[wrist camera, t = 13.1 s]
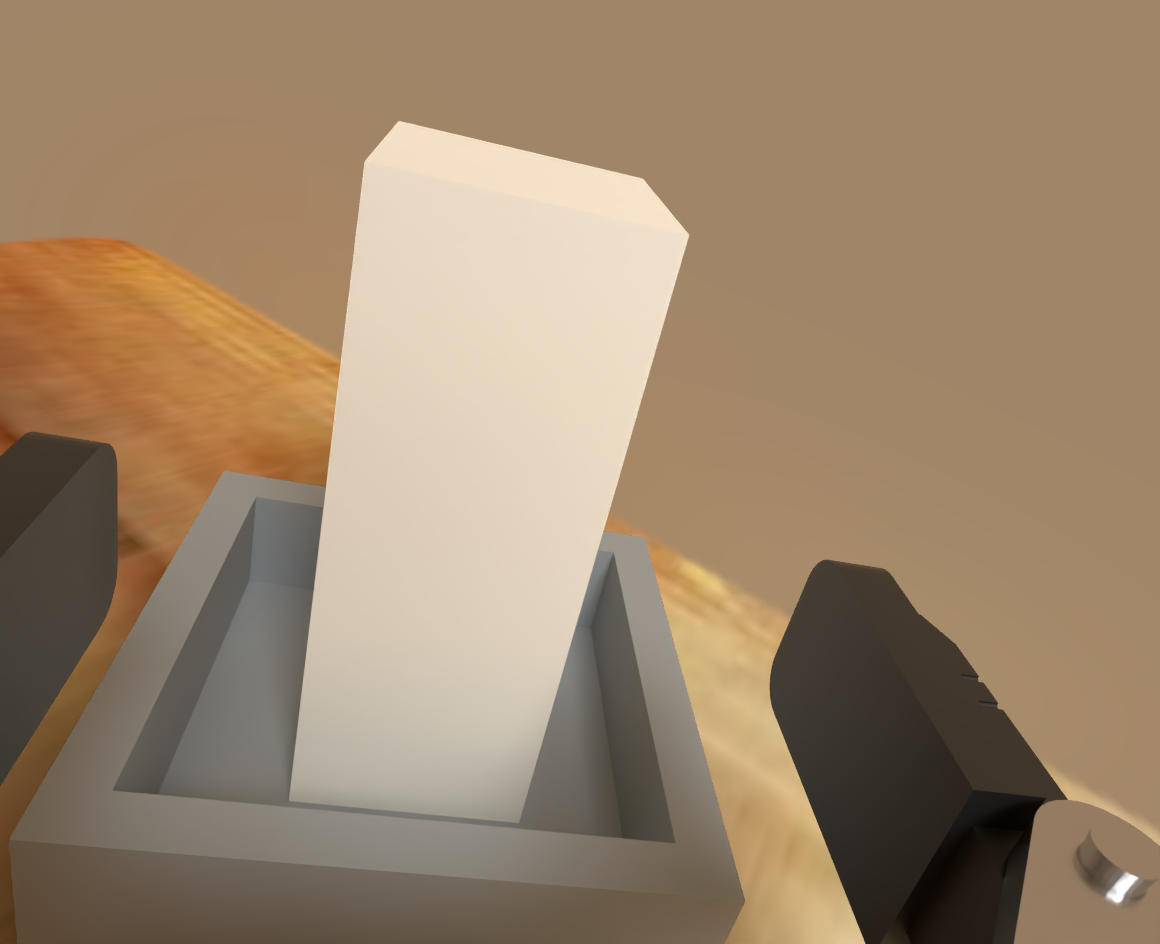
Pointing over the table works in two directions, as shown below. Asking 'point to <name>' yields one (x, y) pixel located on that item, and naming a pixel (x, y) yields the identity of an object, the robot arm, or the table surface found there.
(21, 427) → the table surface
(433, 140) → the cream block
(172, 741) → the tray
